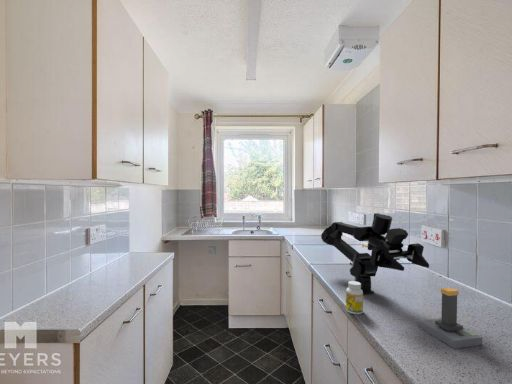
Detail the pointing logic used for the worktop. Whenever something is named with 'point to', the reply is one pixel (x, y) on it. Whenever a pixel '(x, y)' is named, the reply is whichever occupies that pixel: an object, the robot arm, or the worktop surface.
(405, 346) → the worktop surface
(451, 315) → the breaker handle
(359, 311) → the supplement bottle
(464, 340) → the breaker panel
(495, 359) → the worktop surface
